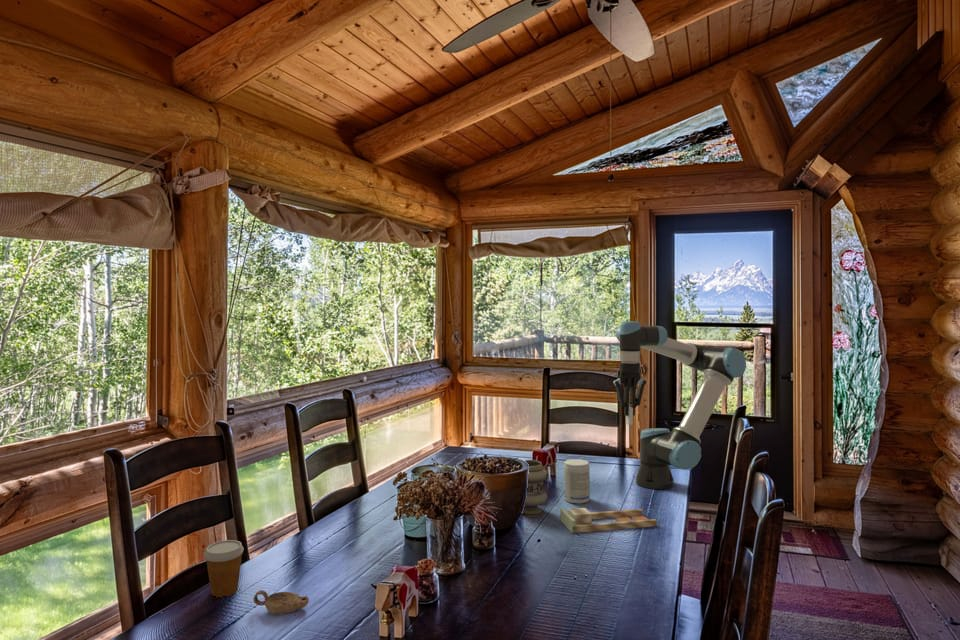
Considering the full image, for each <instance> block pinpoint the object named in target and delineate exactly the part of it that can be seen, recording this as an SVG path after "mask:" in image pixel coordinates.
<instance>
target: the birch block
mask: <svg viewBox="0 0 960 640" xmlns="http://www.w3.org/2000/svg"><path fill="white" fill-rule="evenodd" d="M567 513H568V514H569V515H570V516H571V517H572V518H573V519H574V520H575V525H584V524H593V523H592V520H593V519H592V514H591V513H592V512H590V511H589V510H588V509H587V508H586V507H579V508H577V507H575V508H568V511H567Z"/></svg>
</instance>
